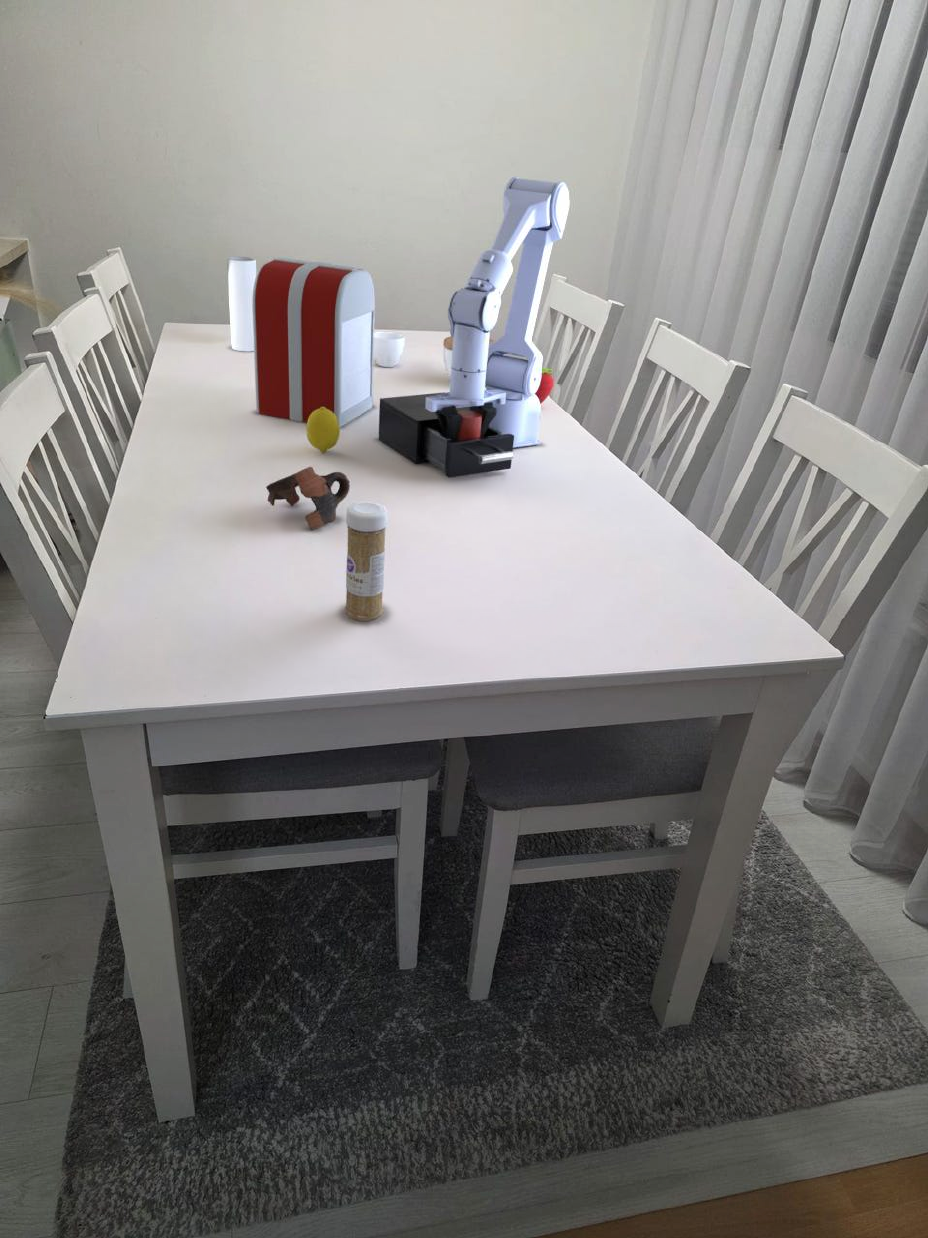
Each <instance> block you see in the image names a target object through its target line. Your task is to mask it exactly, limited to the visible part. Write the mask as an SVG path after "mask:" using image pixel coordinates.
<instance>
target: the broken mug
mask: <svg viewBox="0 0 928 1238" xmlns="http://www.w3.org/2000/svg"><path fill="white" fill-rule="evenodd" d="M335 482H337V483H338V485H339V486H338V490H337V491H336V493H333V491H332V486H333V485H334V483H335ZM350 482H351V481H350V480H349V478H348V477H347V475H346V474H344V472H341V471H333V472H330V473H328V474H325V475H319V474H317V473H316V472H315V470H314V467H313V466H308V467H306V468H304V469H301V470H299V471H297V472H295V473H292V474H291V475H288V476H286V477H284V478H281V479H278V480H275V481H273V482H271V483H269V484H267V486H265V488H266V490H267V492H268V496H267V502H269V504H270V505H271V506H272V507H274V506H275V501H277V500H278V501H281V500H285V501H286V503H288V504H289V505H290V506H292V507H293V506H295V505H296V504H297V503H299V501H300V500H301V499H300V495H299V494H298V492H297V487H298V489H299V491H300V494H301V495H302V496H303V497H305V498H307V499H311V502H312V503H313V505H314V507H315V509H314V510H313V511H312V512H310V513H308V514H305V515H304V519H305V521H306V522H307V526H308V528H309V530H310V531H313V530H316V529H318V528H321V527H323V526H325V525H327V524H329V523H332V522H335V521H336V520H337V508H338V505H339V504H340V503H341V502H342V501H344V499H346V498H347V496H348V495H349V492H350V487H351V484H350Z"/></svg>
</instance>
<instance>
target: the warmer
mask: <svg viewBox="0 0 928 1238" xmlns="http://www.w3.org/2000/svg"><path fill="white" fill-rule="evenodd" d="M443 393H446V392H444V391H443V392H433V393H423V394H414V395H413V394H412V395H404V396H403V395H402V396H393V397H391V396H390V397H384V398H383V397H381V398H379V412H378V413H379V414H378V415H379V416H378V441H380V442H381V443H383V444H384V445H385V446H388V447H389V448H390V449H391V450H393V451H395V452H396V453H398V454H399V455H401V456H402V457H404V458H405V459H407V460H408V461H410V462H411V463H412V464H415V465H420V464H421V465H423V464H428V463H431V462H430V461H429V460H427V459H426V458H424V457H422V456H421V455H420V447H421V429H422V425H426V424H434V423H440V422H439V419H438V417H437V415H436V413H435V412H430V411H428V410H427V409H425V405H426V397H431V396H436V395H440V394H443ZM456 410H457V412H458V411H462V410H469V411H470V409H469V407H461V408H456Z"/></svg>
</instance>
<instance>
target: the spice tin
mask: <svg viewBox="0 0 928 1238" xmlns="http://www.w3.org/2000/svg"><path fill="white" fill-rule="evenodd" d="M457 413H458V414H460V415H462V416H463V417H462V420H461V422H460V426H459V430H458V435H457V440H465V439H473V438H480V434H481V423H482V414H481V413H479V412H475V411H469V410H462V411H458V412H457Z"/></svg>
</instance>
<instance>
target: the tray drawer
mask: <svg viewBox="0 0 928 1238" xmlns="http://www.w3.org/2000/svg"><path fill="white" fill-rule="evenodd" d="M513 443H514V435H512V434H504V435H502V432H500V431H498V430H496V429H494V428H492V427H490V426H488V428H487V430H486V432H485V435H484V437H480V438H473V439H465V440H457V441H451V439H449V438H448V437H446V436H444V435H443V431H442V428H441V425H440V423H434V424H426V425H422V429H421V447H420V455H421V456H422V457H424V458H426V459H427V460H429V461H430V462H429V463H432V464H434V466H437V467H438V468H440V469H441V470H443V471H444V472H445V473H444V476H445V477H446V478H448V479H452V478H459V477H465V476H472V475H477V474H485V473H491V472H497V471H505V470H511V469H512V461H513V459H514V453H513V452H514V448H513Z"/></svg>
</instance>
